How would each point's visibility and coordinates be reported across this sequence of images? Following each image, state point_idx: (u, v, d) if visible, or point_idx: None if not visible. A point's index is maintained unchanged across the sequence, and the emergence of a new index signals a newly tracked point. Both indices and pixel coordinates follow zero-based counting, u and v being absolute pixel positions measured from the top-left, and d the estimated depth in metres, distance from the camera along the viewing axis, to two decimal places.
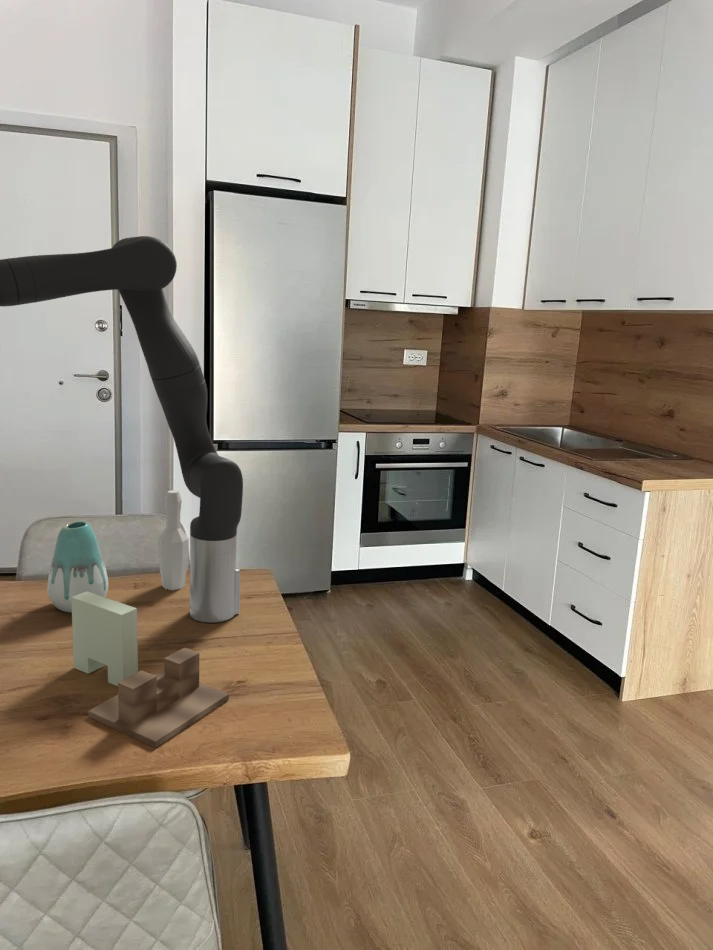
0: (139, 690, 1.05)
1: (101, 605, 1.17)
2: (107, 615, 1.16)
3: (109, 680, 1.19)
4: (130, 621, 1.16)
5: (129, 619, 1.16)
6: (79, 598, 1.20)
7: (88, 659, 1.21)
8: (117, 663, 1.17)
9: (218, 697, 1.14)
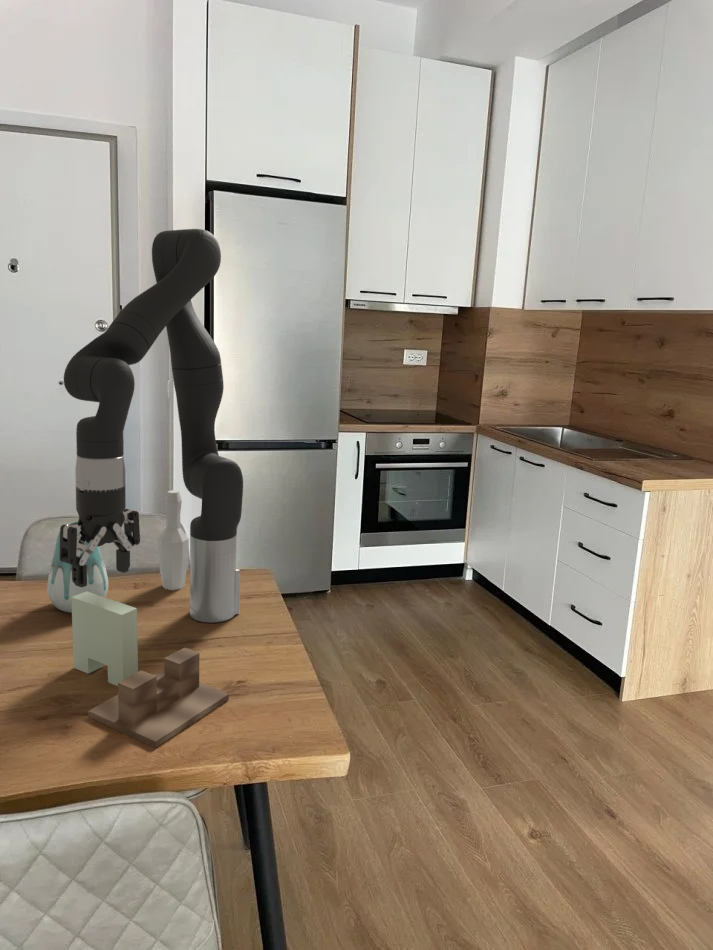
0: (139, 690, 1.05)
1: (101, 605, 1.17)
2: (107, 615, 1.16)
3: (109, 680, 1.19)
4: (130, 621, 1.16)
5: (129, 619, 1.16)
6: (79, 598, 1.20)
7: (88, 659, 1.21)
8: (117, 663, 1.17)
9: (218, 697, 1.14)
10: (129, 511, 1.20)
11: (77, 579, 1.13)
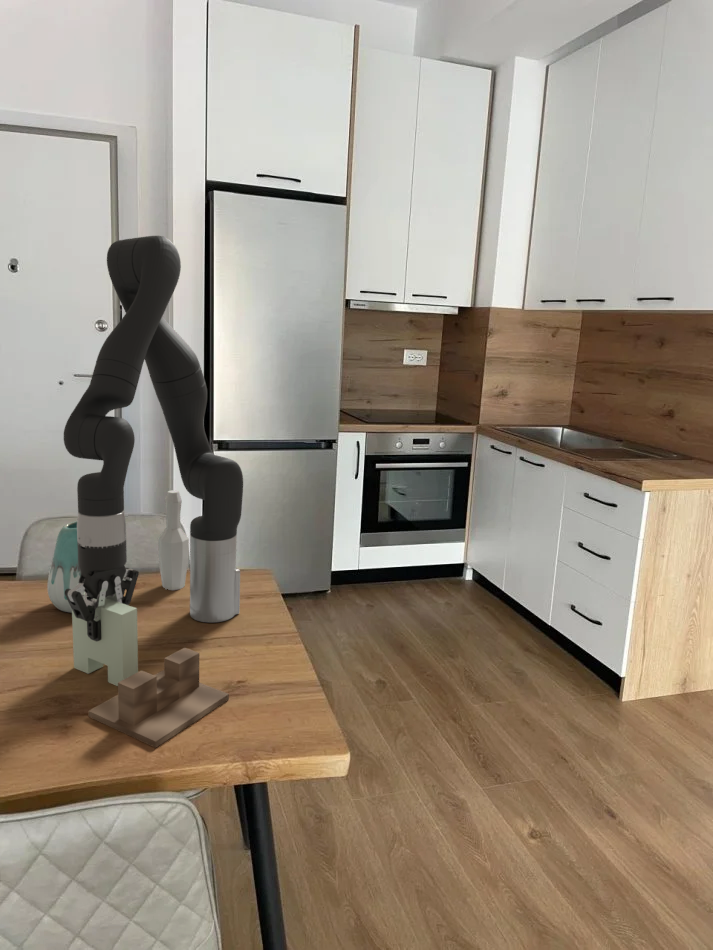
0: (139, 690, 1.05)
1: None
2: (107, 615, 1.16)
3: (109, 680, 1.19)
4: (130, 621, 1.16)
5: (129, 619, 1.16)
6: None
7: (88, 659, 1.21)
8: (117, 663, 1.17)
9: (218, 697, 1.14)
10: (130, 569, 1.23)
11: (92, 634, 1.17)
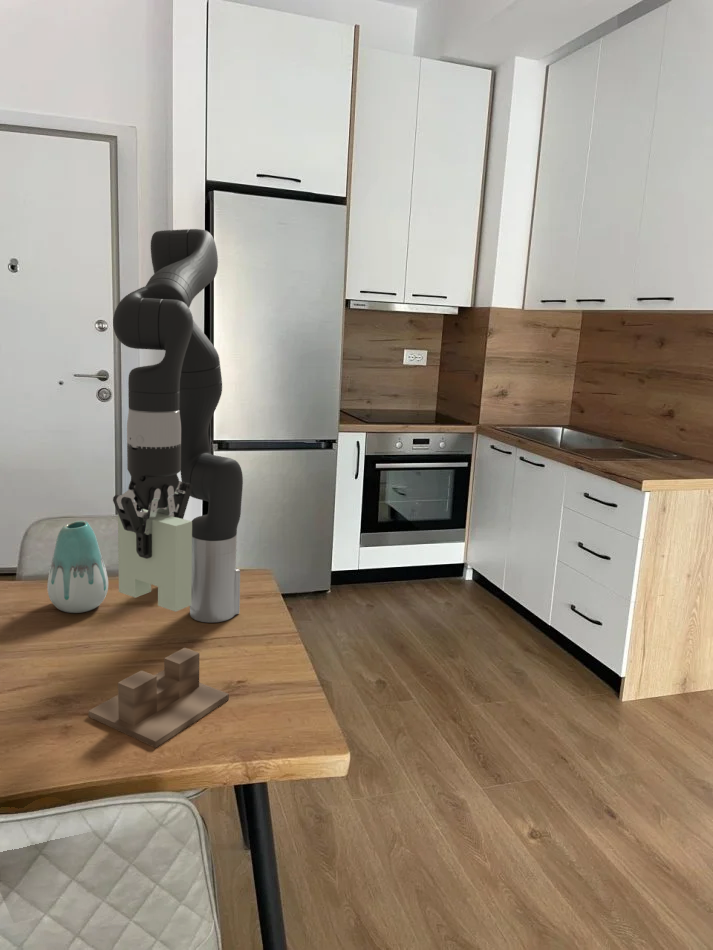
0: (139, 690, 1.05)
1: None
2: (159, 528, 1.03)
3: (159, 603, 1.06)
4: (184, 535, 1.03)
5: (183, 532, 1.03)
6: None
7: (135, 581, 1.08)
8: (169, 583, 1.04)
9: (218, 697, 1.14)
10: (183, 482, 1.10)
11: (142, 549, 1.04)
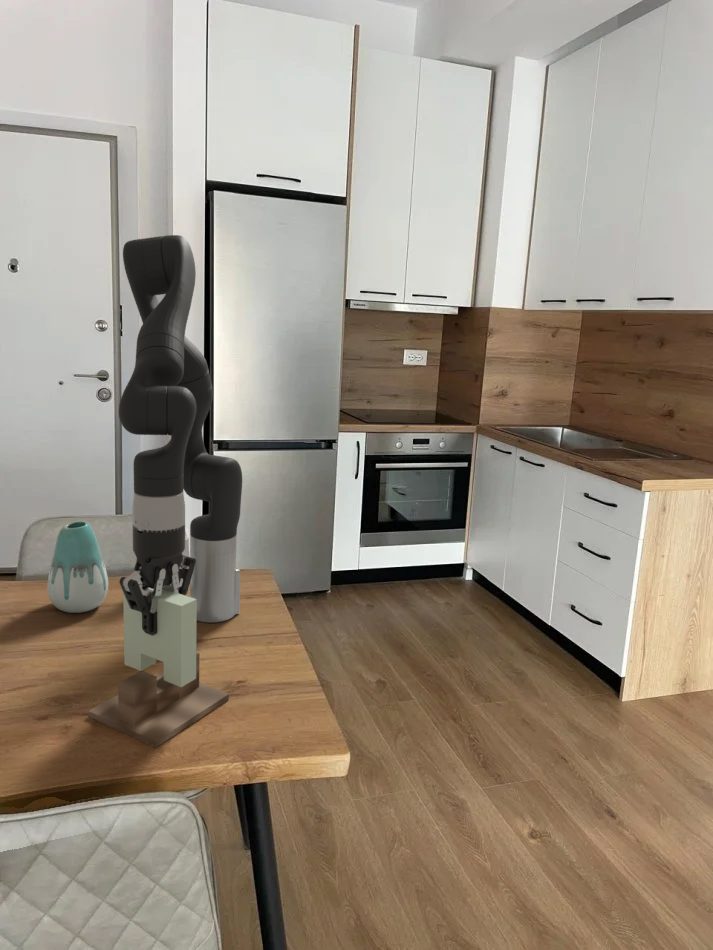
0: (139, 690, 1.05)
1: None
2: (165, 606, 1.06)
3: (165, 678, 1.08)
4: (189, 613, 1.06)
5: (188, 611, 1.05)
6: None
7: (141, 655, 1.10)
8: (175, 659, 1.06)
9: (218, 697, 1.14)
10: (187, 557, 1.12)
11: (148, 627, 1.06)
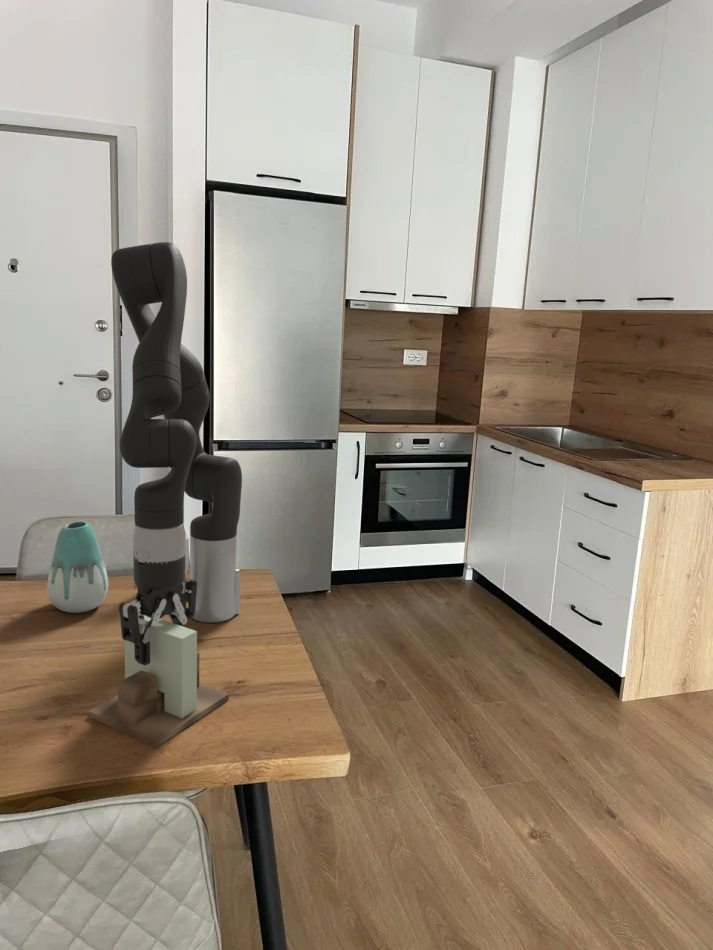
0: (139, 690, 1.05)
1: (157, 628, 1.08)
2: (165, 639, 1.07)
3: (166, 709, 1.09)
4: (190, 645, 1.07)
5: (189, 643, 1.07)
6: None
7: None
8: (175, 691, 1.08)
9: (218, 697, 1.14)
10: (187, 580, 1.13)
11: (140, 657, 1.06)
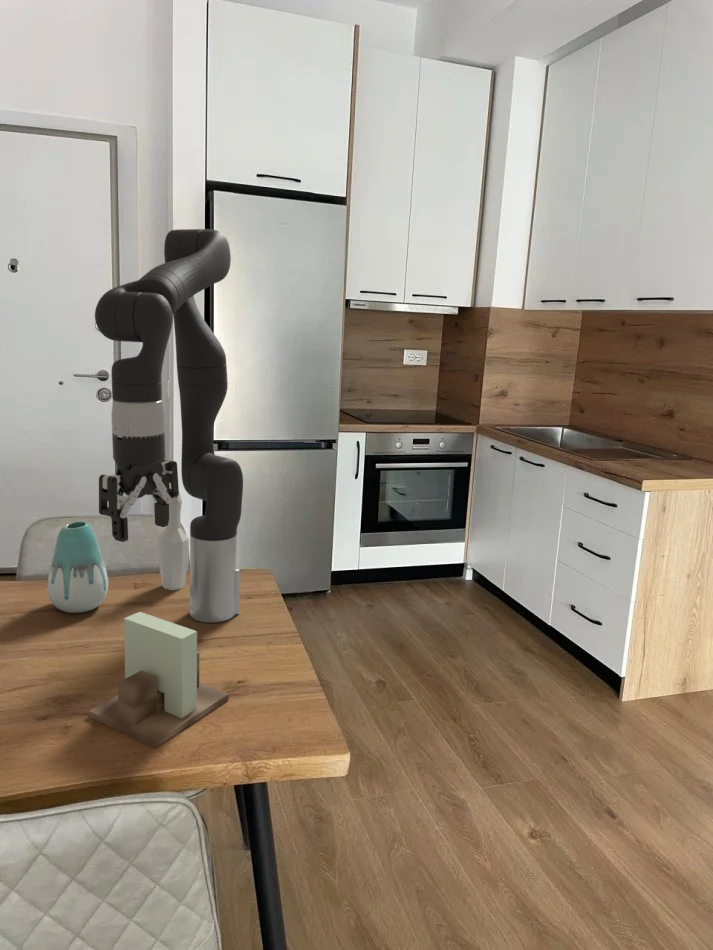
0: (139, 690, 1.05)
1: (157, 628, 1.08)
2: (165, 639, 1.07)
3: (166, 709, 1.09)
4: (190, 645, 1.07)
5: (189, 643, 1.07)
6: (133, 620, 1.10)
7: None
8: (175, 691, 1.08)
9: (218, 697, 1.14)
10: (167, 461, 1.13)
11: (118, 533, 1.05)
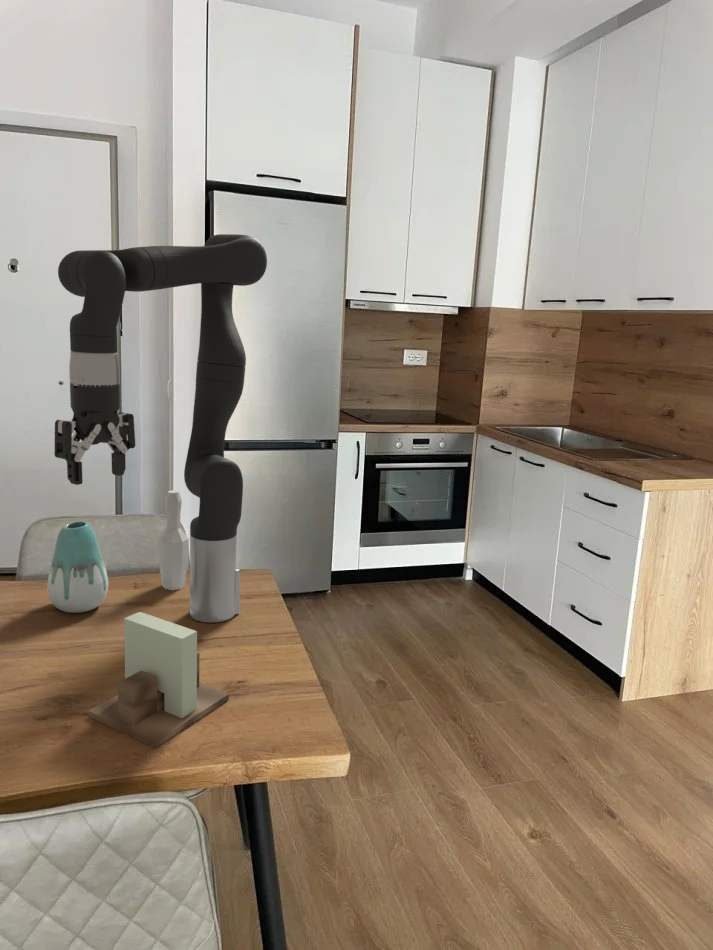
0: (139, 690, 1.05)
1: (157, 628, 1.08)
2: (165, 639, 1.07)
3: (166, 709, 1.09)
4: (190, 645, 1.07)
5: (189, 643, 1.07)
6: (133, 620, 1.10)
7: None
8: (175, 691, 1.08)
9: (218, 697, 1.14)
10: (124, 414, 1.20)
11: (72, 476, 1.13)
